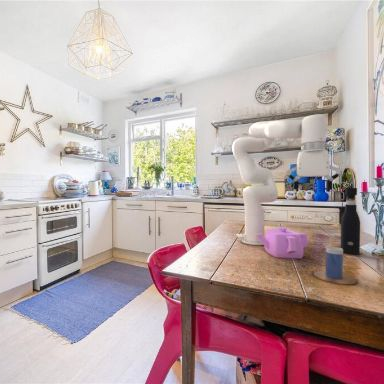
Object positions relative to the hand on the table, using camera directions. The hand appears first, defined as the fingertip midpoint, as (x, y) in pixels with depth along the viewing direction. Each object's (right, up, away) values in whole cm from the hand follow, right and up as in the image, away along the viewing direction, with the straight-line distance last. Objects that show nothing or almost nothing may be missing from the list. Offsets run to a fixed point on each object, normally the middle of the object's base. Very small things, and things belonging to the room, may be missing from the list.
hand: (312, 191), depth 92 cm
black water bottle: (+30, -29, +16) cm, 44 cm away
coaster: (-1, -30, -11) cm, 32 cm away
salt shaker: (-1, -30, -11) cm, 32 cm away
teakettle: (-1, -29, +17) cm, 34 cm away
